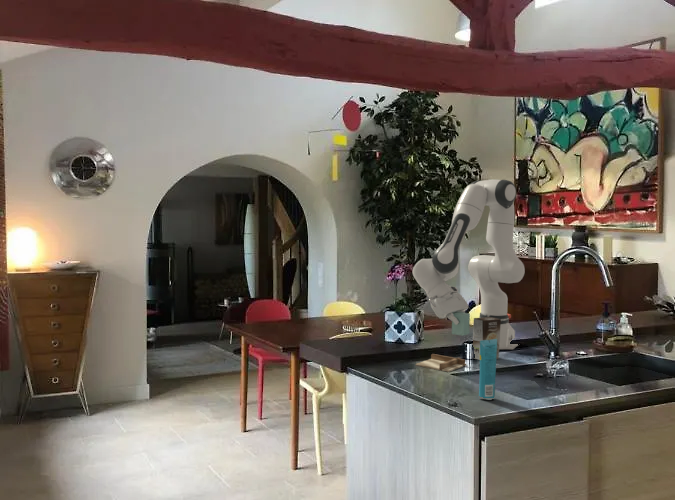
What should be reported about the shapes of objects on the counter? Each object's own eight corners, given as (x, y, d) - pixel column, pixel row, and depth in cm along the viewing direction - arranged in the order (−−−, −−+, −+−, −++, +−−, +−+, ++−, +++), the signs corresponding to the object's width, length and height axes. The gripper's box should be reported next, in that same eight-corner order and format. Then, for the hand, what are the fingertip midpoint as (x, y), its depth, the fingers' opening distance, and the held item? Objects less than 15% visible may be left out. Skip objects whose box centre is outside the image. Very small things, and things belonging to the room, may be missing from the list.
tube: (487, 395, 233) (490, 337, 231) (499, 398, 229) (502, 339, 227) (472, 399, 228) (475, 339, 226) (484, 402, 224) (487, 342, 223)
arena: (434, 359, 281) (434, 353, 281) (466, 365, 273) (466, 359, 273) (415, 365, 270) (415, 359, 270) (448, 372, 262) (448, 365, 262)
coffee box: (482, 361, 280) (484, 320, 279) (471, 357, 285) (472, 318, 284) (499, 358, 285) (501, 318, 284) (487, 355, 291) (489, 316, 289)
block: (457, 331, 283) (458, 311, 282) (469, 333, 280) (469, 313, 279) (451, 333, 279) (452, 313, 279) (463, 335, 276) (463, 315, 275)
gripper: (432, 292, 274) (454, 321, 269) (458, 287, 290) (479, 313, 285) (422, 303, 277) (443, 331, 272) (448, 296, 293) (469, 323, 288)
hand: (462, 322), depth 279 cm, fingers closed on block, 5 cm apart
